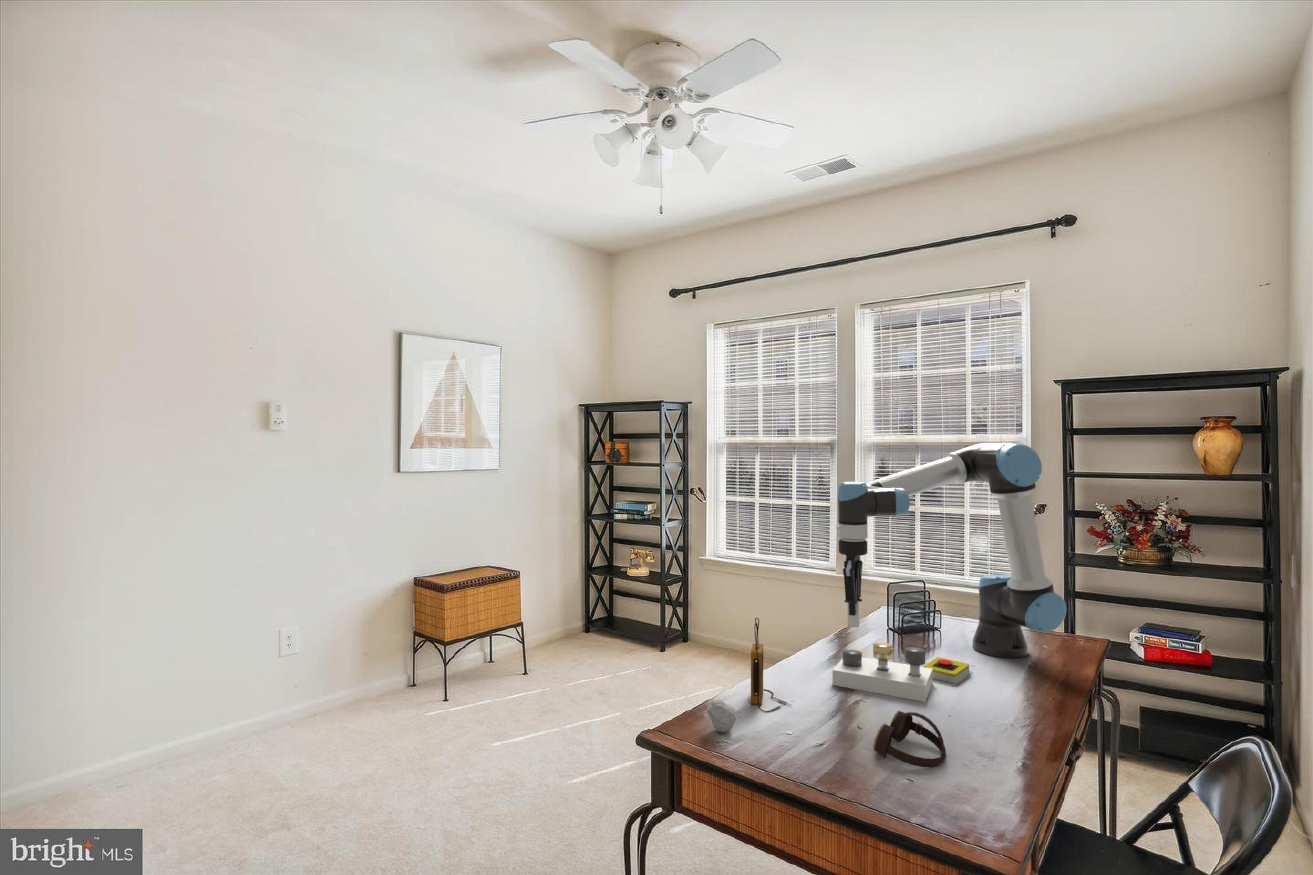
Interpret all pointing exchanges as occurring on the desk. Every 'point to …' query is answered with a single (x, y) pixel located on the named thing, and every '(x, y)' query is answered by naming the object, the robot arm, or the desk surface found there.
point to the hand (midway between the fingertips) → (853, 626)
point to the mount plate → (884, 679)
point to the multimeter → (758, 673)
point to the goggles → (899, 732)
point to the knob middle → (883, 655)
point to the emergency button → (948, 671)
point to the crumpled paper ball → (721, 715)
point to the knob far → (852, 658)
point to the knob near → (914, 659)
